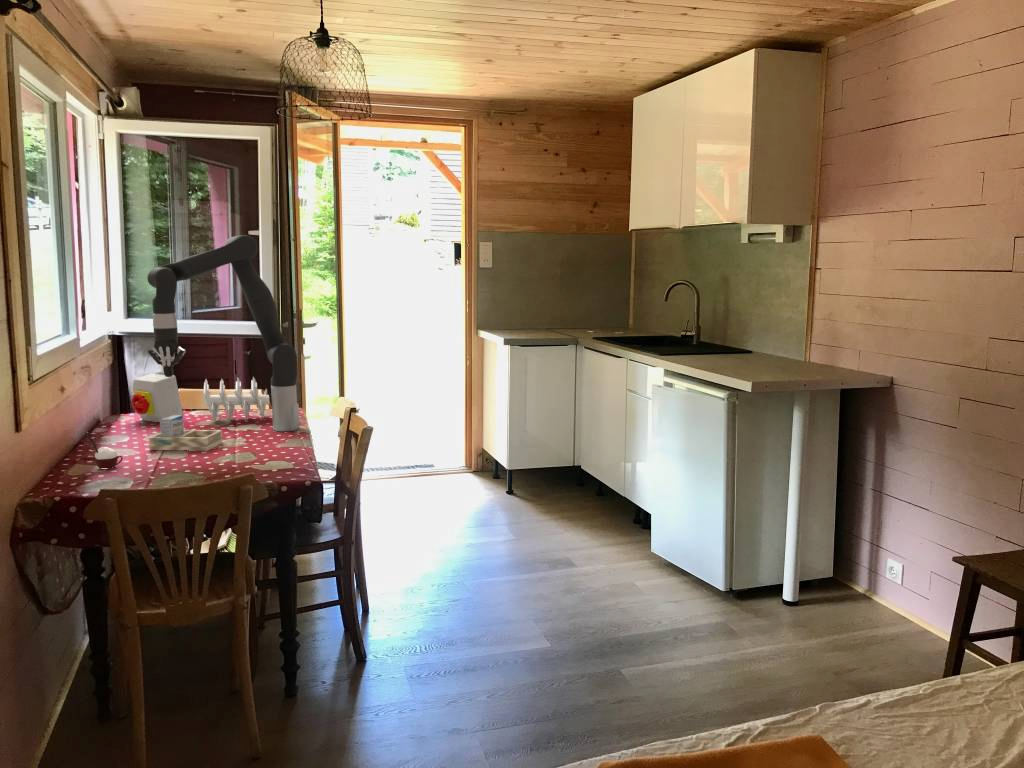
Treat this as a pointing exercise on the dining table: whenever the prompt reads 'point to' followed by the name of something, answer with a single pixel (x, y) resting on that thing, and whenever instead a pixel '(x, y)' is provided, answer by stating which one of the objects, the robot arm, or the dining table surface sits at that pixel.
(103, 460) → the cocoa
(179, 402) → the electrical switch box
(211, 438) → the rack
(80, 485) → the dining table surface
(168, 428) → the medicine box
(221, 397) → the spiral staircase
